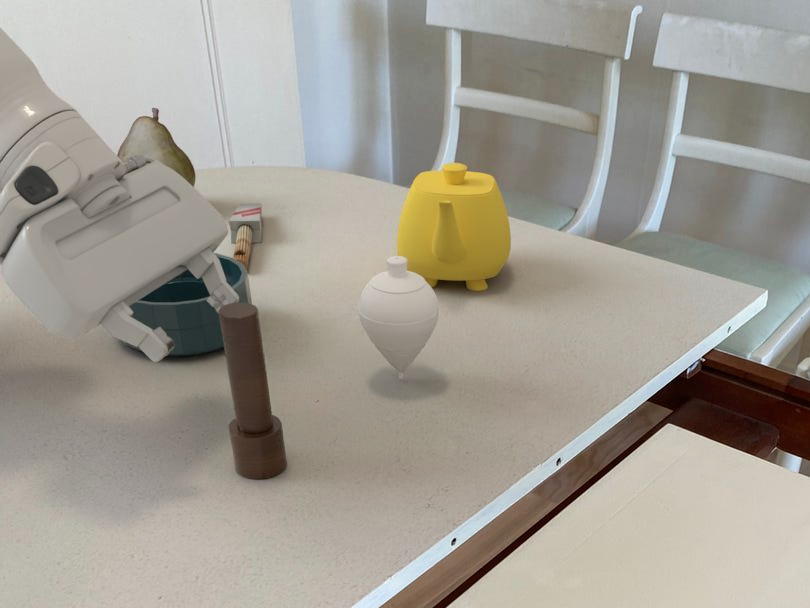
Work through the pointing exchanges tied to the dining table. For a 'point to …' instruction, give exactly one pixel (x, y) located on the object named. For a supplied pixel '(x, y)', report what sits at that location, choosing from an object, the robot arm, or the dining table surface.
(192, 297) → the bowl
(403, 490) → the dining table surface
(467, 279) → the teapot
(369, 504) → the dining table surface
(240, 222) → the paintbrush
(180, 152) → the fruit
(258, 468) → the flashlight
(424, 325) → the spinning top
